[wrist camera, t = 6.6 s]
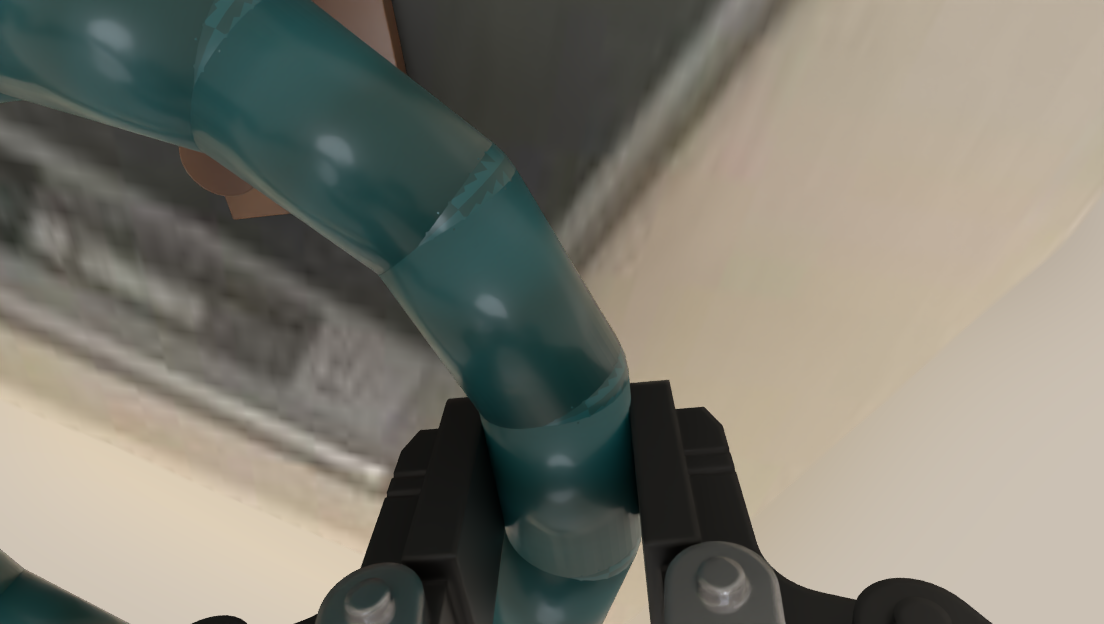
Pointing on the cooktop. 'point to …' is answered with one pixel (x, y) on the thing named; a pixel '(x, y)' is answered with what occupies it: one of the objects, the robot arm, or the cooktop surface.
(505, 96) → the cooktop surface
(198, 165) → the ring toss
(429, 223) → the ring
